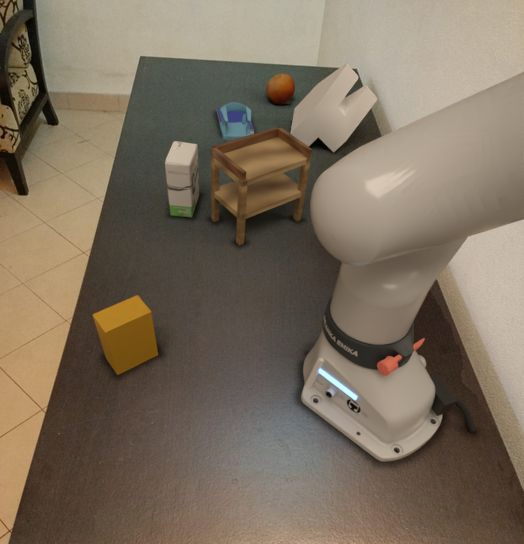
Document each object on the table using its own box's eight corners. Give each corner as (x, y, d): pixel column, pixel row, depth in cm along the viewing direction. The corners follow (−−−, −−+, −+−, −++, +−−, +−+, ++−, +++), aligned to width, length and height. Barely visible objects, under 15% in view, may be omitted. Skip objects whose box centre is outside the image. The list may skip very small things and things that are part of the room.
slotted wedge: (321, 163, 120) (378, 111, 109) (290, 133, 115) (346, 76, 104) (323, 137, 129) (376, 86, 117) (294, 108, 124) (346, 52, 112)
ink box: (192, 218, 96) (190, 165, 87) (169, 215, 96) (163, 162, 87) (199, 195, 102) (198, 142, 93) (177, 192, 102) (173, 139, 93)
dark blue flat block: (254, 129, 119) (247, 107, 126) (222, 129, 117) (216, 107, 125) (254, 135, 120) (246, 112, 127) (222, 135, 118) (216, 113, 126)
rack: (301, 219, 99) (312, 149, 87) (239, 245, 92) (242, 172, 80) (271, 196, 103) (279, 126, 91) (211, 219, 97) (210, 146, 85)
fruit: (301, 103, 130) (289, 75, 124) (275, 116, 133) (262, 89, 127) (300, 91, 135) (288, 63, 129) (275, 103, 138) (263, 77, 132)
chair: (221, 168, 109) (221, 116, 100) (216, 150, 114) (216, 98, 105) (253, 167, 110) (257, 115, 101) (247, 149, 115) (250, 98, 106)
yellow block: (158, 355, 74) (151, 311, 66) (117, 375, 71) (105, 332, 63) (146, 338, 76) (137, 294, 68) (105, 358, 73) (92, 314, 65)
